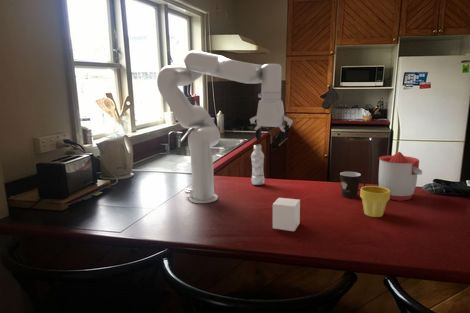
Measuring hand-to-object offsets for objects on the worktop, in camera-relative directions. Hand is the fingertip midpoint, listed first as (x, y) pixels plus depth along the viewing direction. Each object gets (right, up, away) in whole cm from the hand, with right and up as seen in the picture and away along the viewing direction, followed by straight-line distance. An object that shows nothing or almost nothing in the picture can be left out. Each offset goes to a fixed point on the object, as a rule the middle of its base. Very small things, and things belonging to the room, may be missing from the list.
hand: (270, 140), depth 141 cm
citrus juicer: (+57, -24, +14) cm, 63 cm away
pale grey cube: (+4, -31, -15) cm, 34 cm away
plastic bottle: (-2, -21, +38) cm, 43 cm away
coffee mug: (+37, -24, +15) cm, 47 cm away
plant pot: (+39, -28, -6) cm, 48 cm away
